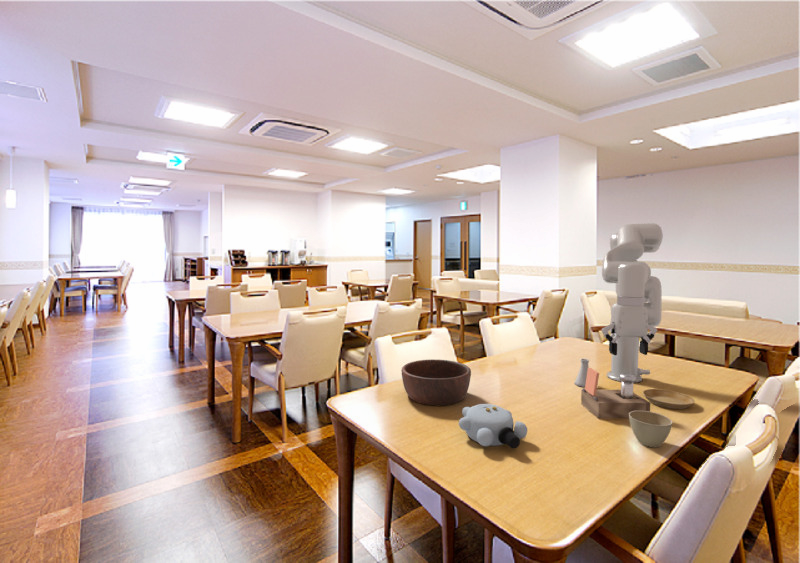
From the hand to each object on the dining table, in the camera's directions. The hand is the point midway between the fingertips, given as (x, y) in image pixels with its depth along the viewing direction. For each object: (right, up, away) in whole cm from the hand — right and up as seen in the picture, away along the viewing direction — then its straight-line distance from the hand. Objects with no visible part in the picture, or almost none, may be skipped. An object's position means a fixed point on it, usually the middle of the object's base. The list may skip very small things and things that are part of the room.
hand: (628, 354), depth 129 cm
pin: (0, -19, +1) cm, 19 cm away
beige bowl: (-6, -21, -21) cm, 30 cm away
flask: (-2, -17, +27) cm, 32 cm away
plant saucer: (+18, -19, +8) cm, 27 cm away
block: (-4, -19, +1) cm, 19 cm away
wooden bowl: (-61, -18, +16) cm, 66 cm away
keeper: (-12, -9, 0) cm, 15 cm away
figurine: (-48, -21, -17) cm, 55 cm away
